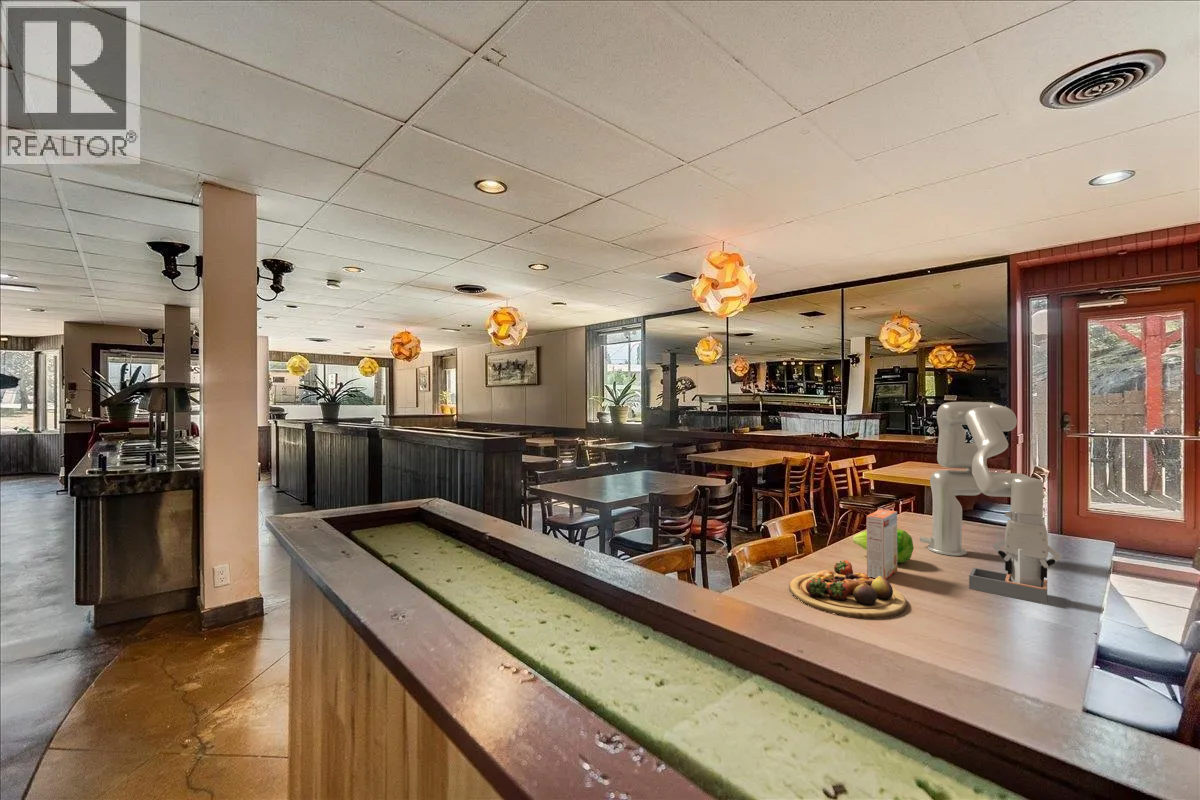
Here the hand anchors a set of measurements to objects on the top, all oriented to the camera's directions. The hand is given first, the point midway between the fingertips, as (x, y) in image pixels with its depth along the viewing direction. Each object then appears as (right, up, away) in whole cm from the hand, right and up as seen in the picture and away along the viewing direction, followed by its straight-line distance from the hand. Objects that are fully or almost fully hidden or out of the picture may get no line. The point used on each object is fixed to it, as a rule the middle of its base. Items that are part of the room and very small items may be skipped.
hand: (1025, 576), depth 157 cm
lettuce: (-25, -6, +34) cm, 43 cm away
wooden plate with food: (-55, -6, -1) cm, 56 cm away
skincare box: (0, -4, 0) cm, 4 cm away
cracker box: (-34, -6, +18) cm, 39 cm away
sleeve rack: (-3, -6, +3) cm, 7 cm away
